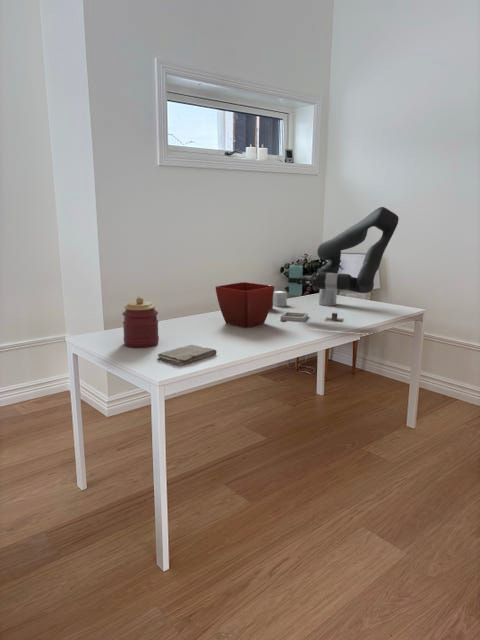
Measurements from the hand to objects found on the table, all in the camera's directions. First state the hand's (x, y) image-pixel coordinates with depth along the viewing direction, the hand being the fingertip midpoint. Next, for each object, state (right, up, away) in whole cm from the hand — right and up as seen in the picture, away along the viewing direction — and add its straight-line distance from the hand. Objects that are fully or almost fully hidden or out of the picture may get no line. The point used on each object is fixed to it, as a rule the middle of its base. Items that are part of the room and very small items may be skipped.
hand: (290, 279), depth 218 cm
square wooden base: (+20, -19, +1) cm, 28 cm away
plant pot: (-21, -20, -6) cm, 30 cm away
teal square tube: (+2, -7, +1) cm, 7 cm away
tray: (+2, -18, +3) cm, 19 cm away
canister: (-60, -28, -39) cm, 77 cm away
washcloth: (-41, -32, -55) cm, 76 cm away
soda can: (-10, -13, +27) cm, 31 cm away
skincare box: (-2, -11, +37) cm, 38 cm away
